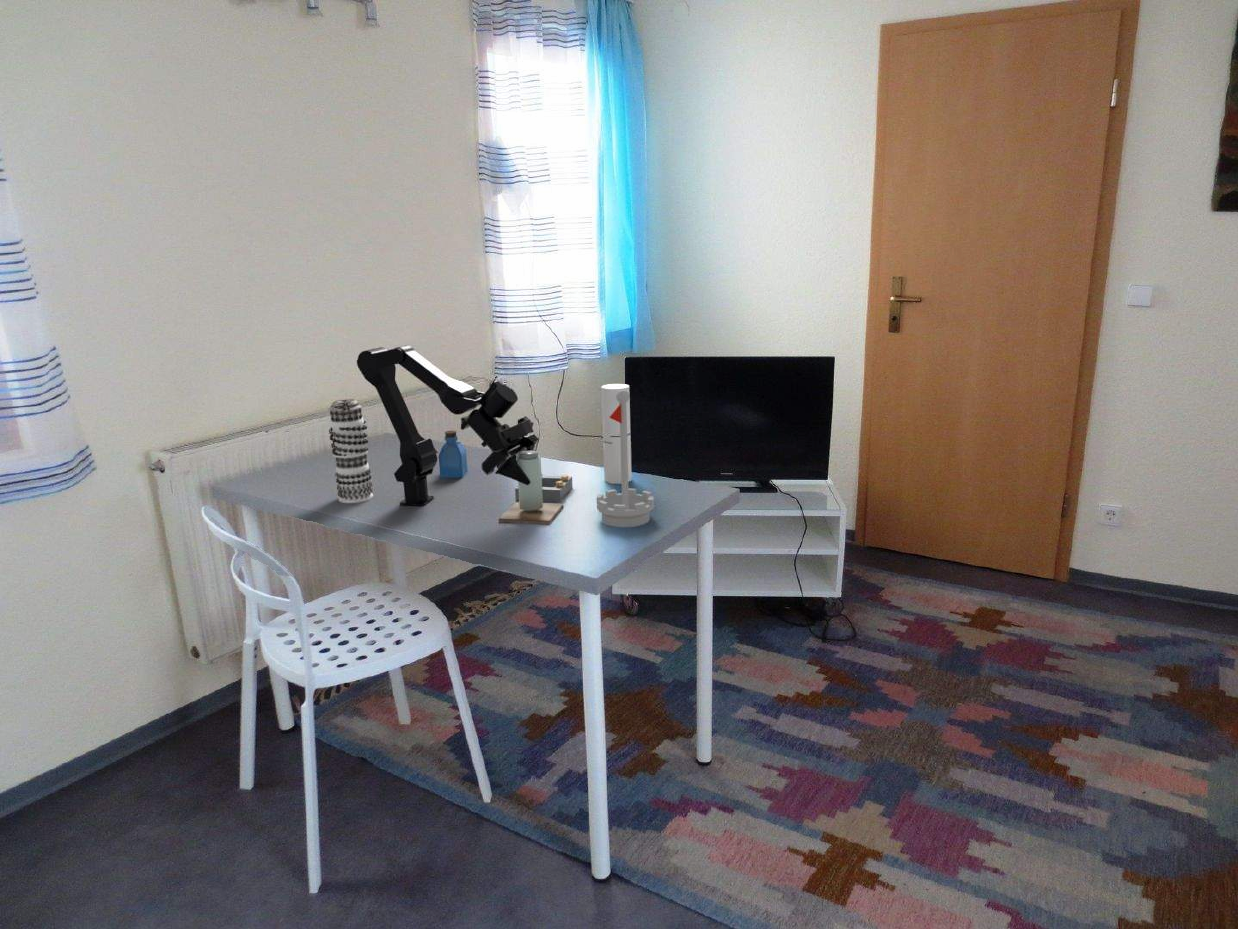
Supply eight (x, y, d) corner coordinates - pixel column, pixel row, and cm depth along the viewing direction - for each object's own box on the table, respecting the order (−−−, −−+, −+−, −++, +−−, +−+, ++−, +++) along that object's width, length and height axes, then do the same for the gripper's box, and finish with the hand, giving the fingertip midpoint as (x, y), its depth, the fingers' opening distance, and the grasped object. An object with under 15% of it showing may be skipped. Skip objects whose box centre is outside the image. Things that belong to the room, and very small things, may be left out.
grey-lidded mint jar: (531, 512, 196) (528, 457, 192) (514, 507, 199) (511, 453, 196) (548, 505, 200) (545, 452, 196) (531, 501, 203) (528, 448, 200)
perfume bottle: (463, 477, 231) (459, 434, 228) (440, 477, 231) (436, 434, 228) (467, 471, 237) (464, 429, 234) (445, 471, 237) (441, 429, 234)
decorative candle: (382, 493, 219) (371, 397, 212) (361, 504, 210) (349, 405, 204) (351, 491, 222) (340, 396, 215) (329, 502, 213) (317, 404, 206)
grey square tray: (560, 501, 209) (559, 486, 207) (515, 500, 211) (514, 484, 210) (572, 487, 219) (571, 472, 218) (529, 486, 222) (528, 471, 221)
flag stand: (618, 506, 204) (615, 382, 196) (665, 515, 197) (663, 387, 189) (585, 522, 194) (580, 392, 186) (633, 532, 186) (630, 398, 178)
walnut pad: (549, 524, 193) (549, 520, 193) (499, 521, 196) (498, 518, 195) (563, 507, 205) (563, 503, 204) (515, 505, 207) (515, 502, 207)
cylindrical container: (628, 484, 221) (626, 389, 214) (601, 483, 222) (598, 388, 216) (633, 476, 228) (631, 383, 221) (607, 475, 229) (604, 383, 222)
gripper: (490, 416, 186) (537, 469, 185) (529, 400, 203) (573, 448, 202) (461, 449, 191) (507, 500, 190) (502, 430, 208) (545, 477, 207)
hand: (535, 480), depth 197 cm, fingers closed on grey-lidded mint jar, 5 cm apart
